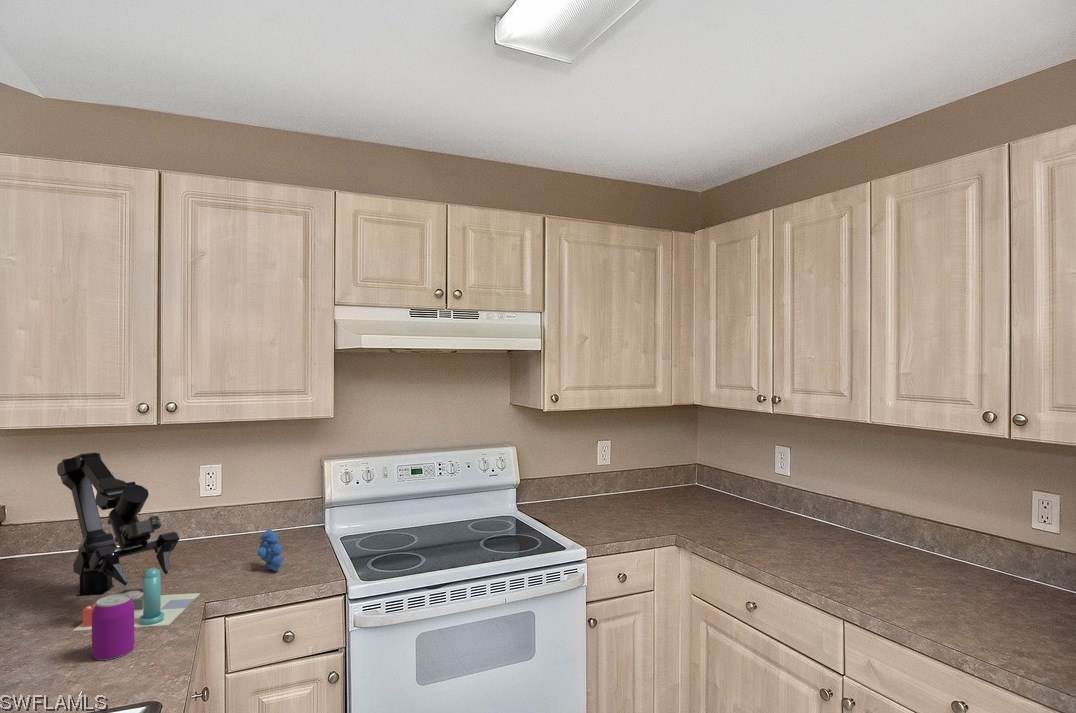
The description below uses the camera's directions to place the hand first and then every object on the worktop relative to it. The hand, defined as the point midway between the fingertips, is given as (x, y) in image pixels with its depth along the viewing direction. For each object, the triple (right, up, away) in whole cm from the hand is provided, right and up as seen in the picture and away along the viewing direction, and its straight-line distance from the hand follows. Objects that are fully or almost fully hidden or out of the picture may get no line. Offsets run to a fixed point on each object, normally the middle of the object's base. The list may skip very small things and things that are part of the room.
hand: (146, 578), depth 154 cm
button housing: (-10, -10, +9) cm, 16 cm away
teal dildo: (+2, -10, -1) cm, 10 cm away
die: (-11, -10, -2) cm, 15 cm away
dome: (-10, -9, +9) cm, 16 cm away
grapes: (+15, -10, +35) cm, 39 cm away
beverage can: (+4, -10, -17) cm, 21 cm away
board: (-4, -10, +5) cm, 12 cm away
